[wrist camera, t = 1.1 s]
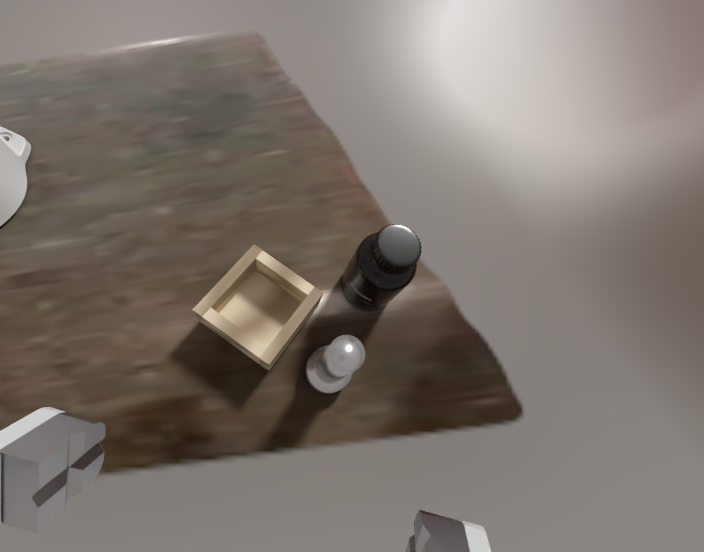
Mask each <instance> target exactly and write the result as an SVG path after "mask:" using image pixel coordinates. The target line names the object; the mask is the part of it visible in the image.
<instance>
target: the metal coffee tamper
mask: <svg viewBox="0 0 704 552" xmlns="http://www.w3.org/2000/svg"><path fill="white" fill-rule="evenodd" d="M364 359H365V349H364V346H363V344H362V343H361V342H360V341H359V340H358V339H357V338H356V337H354V336H351V335H341V336H339V337H337V338H335V339H334V340H333V341H332V343H331V344H330V345H328V346H323V347H320V348H318V349H317V350H315V351H314V352H313V354H312V355H311V356H310V358H309V360H308V361H307V364H306V368H305V375H306V379H307V381H308V383H309V385H310V386H311V387H312V388H313V389H314V390H315V391H317V392H319V393H322V394H332V393H335V392H337V391H339V390H341V389H343V388H344V387H345V386H346V385H347V384H348V383H349V381H350V379H351V376H352V372H354V371H355V370H357V369H358V368H360V366H361V365H362V364H363V362H364Z"/></svg>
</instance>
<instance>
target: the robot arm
mask: <svg viewBox="0 0 704 552" xmlns="http://www.w3.org/2000/svg"><path fill="white" fill-rule="evenodd" d="M30 152H31V145H30V143H29V142H28V141H27V140H26V139H25V138H23V137H22V136H20V135H18V134H16V133H14V132H11V131H9V130H7V129H5V128H3V127H1V126H0V226H1V225H3V224H4V223H5V222H6V221H7V220H8V219H10V218H11V217H12V215H13V214H14V213H15V212H16V211H17V209H18V208H19V206H20V205H21V203H22V201H23V199H24V197H25V194H26V189H27V176H26V171H25V163H26V161H27V159H28V157H29V154H30ZM104 437H105V425H104V424H103V423H101V422H99V421H95V420H92V419H89V418H86V417H82V416H79V415H76V414H73V413H69V412H64V411H61V410H58V409H55V408H51V407H44V408H40V409H38V410H37V411H35V412H33V413H31V414H29V415H28V416H26V417H24V418H22V419H21V420H19V421H17V422H15V423H14V424H12V425H10V426H8V427H7V428H5V429H3V430H1V431H0V525H1V523H3V524H6V525H10V526H14V527H18V528H21V529H25V530H29V531H33V532H36V533H38V532H39V531H40V530H41V529H42V528H43V527H44V526H45V525H46V524H48V523H49V522H50V521H51V520H52V519H53V518H54V517H55V516H56V515H58V513H60V512H61V511H62V510H63V509H64V508H65V505H66V501H67V498H69V497H71V496H74V495H77V494H79V493H81V492H83V491H84V490H85V489H86V488H87V487H88V486H89V485H90V484H91V483H92V482H93V480H94V479H95V477H96V476H97V474H98V473H99V471H100V469H101V466H102V463H103V459H104V451H103V449H102V447H101V445H100V443H99V442H100V441H101V440H102V439H103V438H104ZM414 531H415V535H413V536H412V537H410V539H409V542H408V545H407V549H406V552H491V549H490V546H489V542H488V539H487V535H486V532H485V529H484V528H483V527H482V526H480V525H476V524H472V523H468V522H464V521H459V520H455V519H451V518H448V517H444V516H440V515H437V514H433V513H429V512H425V511H422V510H419V512H418V513H417V515H416V518H415V521H414Z"/></svg>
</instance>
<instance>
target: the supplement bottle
mask: <svg viewBox="0 0 704 552" xmlns="http://www.w3.org/2000/svg"><path fill="white" fill-rule="evenodd" d="M421 248H422V247H421V243H420V241H419V238H418V237H417V235H416V234H415V233H414V232H413V231H412V230H411V229H409V228H407V227H406V226H403V225H399V224H392V225H388V226H385V227H384V228H382V229H381V230H380V231H379V232H377V233H374V234H371V235H369V236H368V237H366V238H365V239H364V240H363V241H362V242H361V243H360V245H359V246H358V248H357V250H356V252H355V254H354V255H353V257H352V259H351V261H350V263H349V264H348V266H347V268H346V270H345V272H344V274H343V277H342V290H343V293H344V295H345V297H346V299H347V300H348V301H349V302H350V303H351V304H352V305H353V306H355V307H357V308H359V309H361V310H365V311H374V310H378V309H380V308H382V307H384V306H385V305H386V304H388V303H389V302H390V301H391V300H392V299H393V298H394V297H395V296H396V295H397V294H398V293H400V292H401V291H402V290H403V289H404V288H405V287H406V286H407V285H408V284H409V283H410V282H411V281H412V279H413V278H414V276H415V273H416V269H417V261H418V260H419V257H420V256H421Z"/></svg>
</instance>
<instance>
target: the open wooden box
mask: <svg viewBox="0 0 704 552" xmlns="http://www.w3.org/2000/svg"><path fill="white" fill-rule="evenodd" d="M322 295H323V293H322V292H321V291H320V290H318V289H317V288H315V287H314V286H312V285H311V284H310V283H308V282H307V281H305V280H304V279H302V278H301V277H300V276H298V275H297V274H295V273H294V272H293V271H291V270H290V269H288V268H287V267H285V266H284V265H283V264H281V263H280V262H278V261H277V260H275V259H274V258H273V257H271V256H270V255H268V254H267V253H265V252H264V251H263V250H261V249H260V248H258V247H257V246H256V245H253V246H252V247H251V248H250V249H249V250H248V251H247V252H246V253H245V254H244V256H243V257H242V258H241V259H240V260H239V261H238V262H237V263H236V264H235V265H234V266H233V267H232V268H231V269H230V270H229V272H228V273H227V274H226V275H225V276H224V277H223V278H222V279H221V280H220V281H219V282H218V283H217V284H216V285H215V286H214V287H213V289H212V290H211V291H210V292H209V293H208V294H207V295H206V296H205V297H204V298H203V299H202V300H201V301H200V302H199V303H198V305H197V306H196V307H195V308H194V309H193V311H194V313H195V315H196V316H197V318H198V319H199V321H200V322H201V323H203V324H204V325H205V326H207V327H208V328H210V329H211V330H212V331H214V332H215V333H216V334H218V335H219V336H221V337H222V338H223V339H225V340H226V341H228V342H229V343H230V344H232V345H233V346H235V347H236V348H237V349H239V350H240V351H241V352H243V353H244V354H246V355H247V356H248V357H250V358H251V359H253V360H254V361H255V362H257V363H258V364H260V365H261V366H262V367H264V368H265V369H266V370H268V371H269V370H270V369H271V368H272V366H273V365H274V364H275V362H276V361H277V360H278V358H279V357H280V356H281V354H282V353H283V352H284V350H285V349H286V348H287V346H288V345H289V344H290V342H291V341H292V340H293V338H294V337H295V336H296V334H297V333H298V332H299V330H300V329H301V328H302V326H303V325H304V324H305V322H306V321H307V320H308V318H309V317H310V316H311V314H312V313H313V312H314V310H315V309H316V308H317V306H318V304H319V302H320V300H321V297H322Z"/></svg>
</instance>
